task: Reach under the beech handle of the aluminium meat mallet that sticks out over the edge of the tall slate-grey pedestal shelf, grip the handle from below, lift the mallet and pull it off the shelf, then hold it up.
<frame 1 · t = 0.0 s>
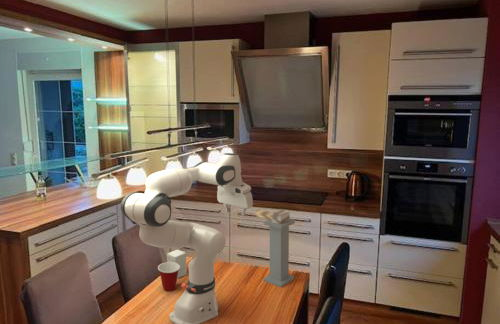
hand: (235, 213, 176), 39 cm above the table, tool pointing down, fingers open, 8 cm apart
mallet: (280, 221, 186), point 32 cm above the table, touching pedestal shelf
pedestal shelf: (279, 279, 191), on the table
supplement box: (177, 275, 198), on the table
plastic cup: (169, 289, 183), on the table
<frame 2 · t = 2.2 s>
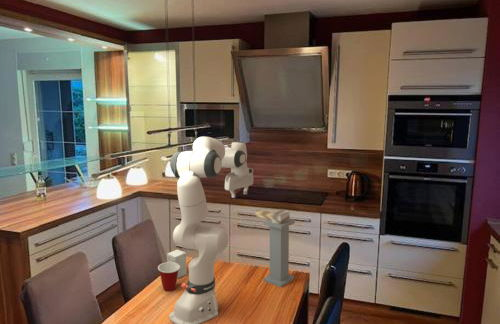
hand: (239, 195, 202), 41 cm above the table, tool pointing down, fingers open, 8 cm apart
nothing on the table moved.
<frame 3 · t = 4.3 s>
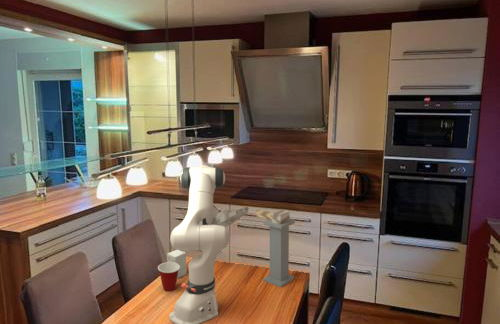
hand: (242, 210, 202), 33 cm above the table, tool pointing upward, fingers open, 8 cm apart
nothing on the table moved.
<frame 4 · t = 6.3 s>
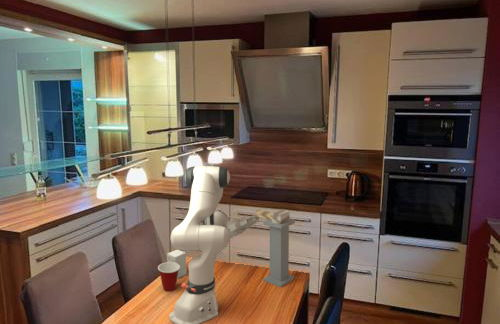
hand: (253, 219, 198), 30 cm above the table, tool pointing upward, fingers open, 8 cm apart
nothing on the table moved.
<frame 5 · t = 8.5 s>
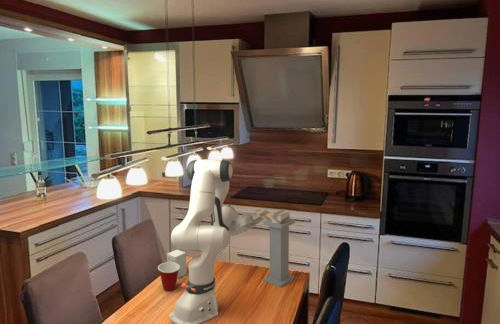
hand: (263, 213, 192), 34 cm above the table, tool pointing upward, fingers closed on mallet, 3 cm apart
mallet: (280, 221, 186), point 32 cm above the table, touching gripper, pedestal shelf
everything else where it was.
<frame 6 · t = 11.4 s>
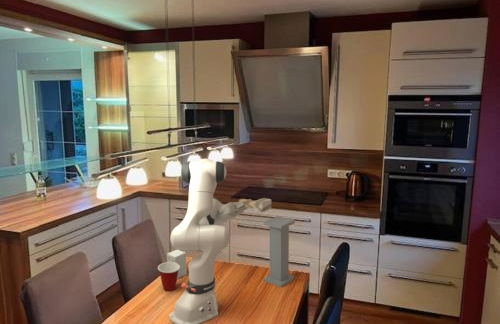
hand: (246, 202, 199), 38 cm above the table, tool pointing upward, fingers closed on mallet, 3 cm apart
mallet: (262, 209, 192), point 36 cm above the table, touching gripper
everything else where it was.
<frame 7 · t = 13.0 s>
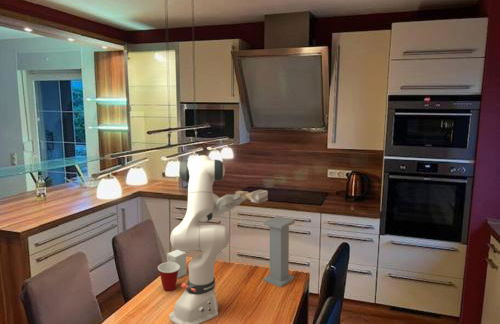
hand: (243, 194, 200), 42 cm above the table, tool pointing upward, fingers closed on mallet, 3 cm apart
mallet: (259, 200, 193), point 40 cm above the table, touching gripper
everything else where it was.
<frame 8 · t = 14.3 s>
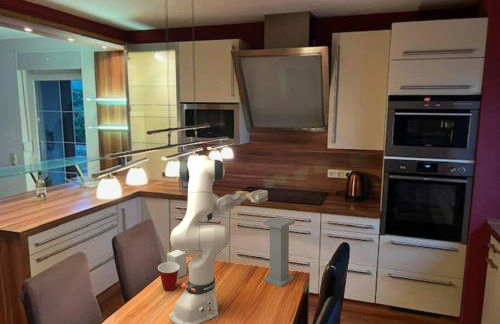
hand: (243, 194, 200), 42 cm above the table, tool pointing upward, fingers closed on mallet, 3 cm apart
mallet: (259, 200, 193), point 40 cm above the table, touching gripper
everything else where it was.
at the end: the gripper is holding mallet; mallet moved 16.3 cm from its start; mallet point 40.4 cm above the table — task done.
